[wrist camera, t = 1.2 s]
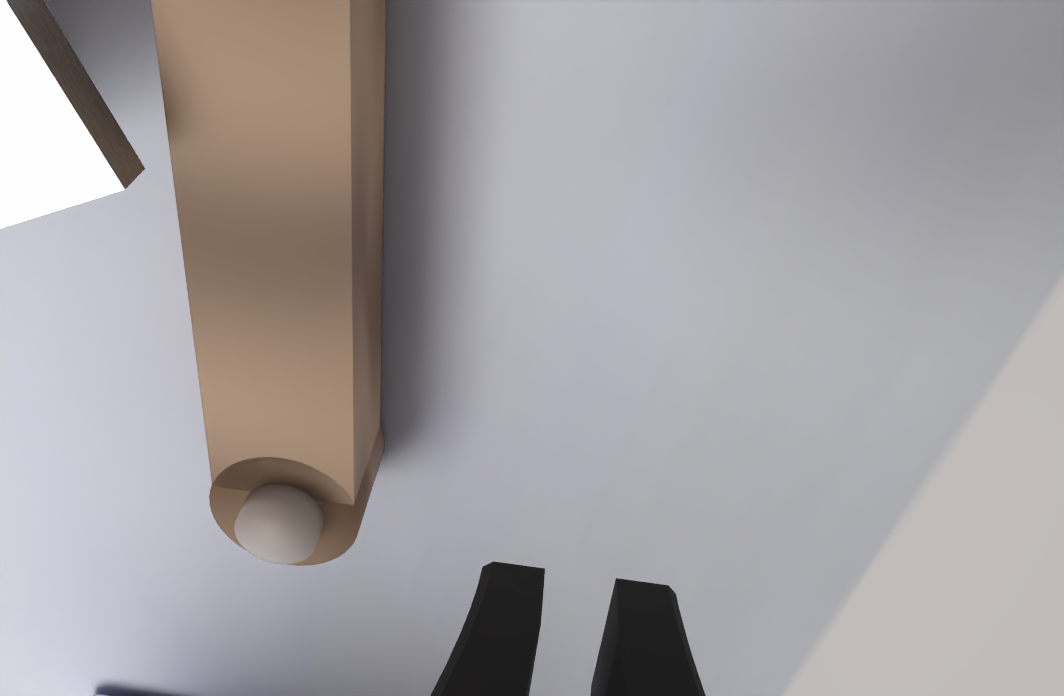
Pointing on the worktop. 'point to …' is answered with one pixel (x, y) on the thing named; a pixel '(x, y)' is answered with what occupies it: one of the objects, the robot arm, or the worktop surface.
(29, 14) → the bracket
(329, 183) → the link
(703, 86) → the worktop surface
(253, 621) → the worktop surface
